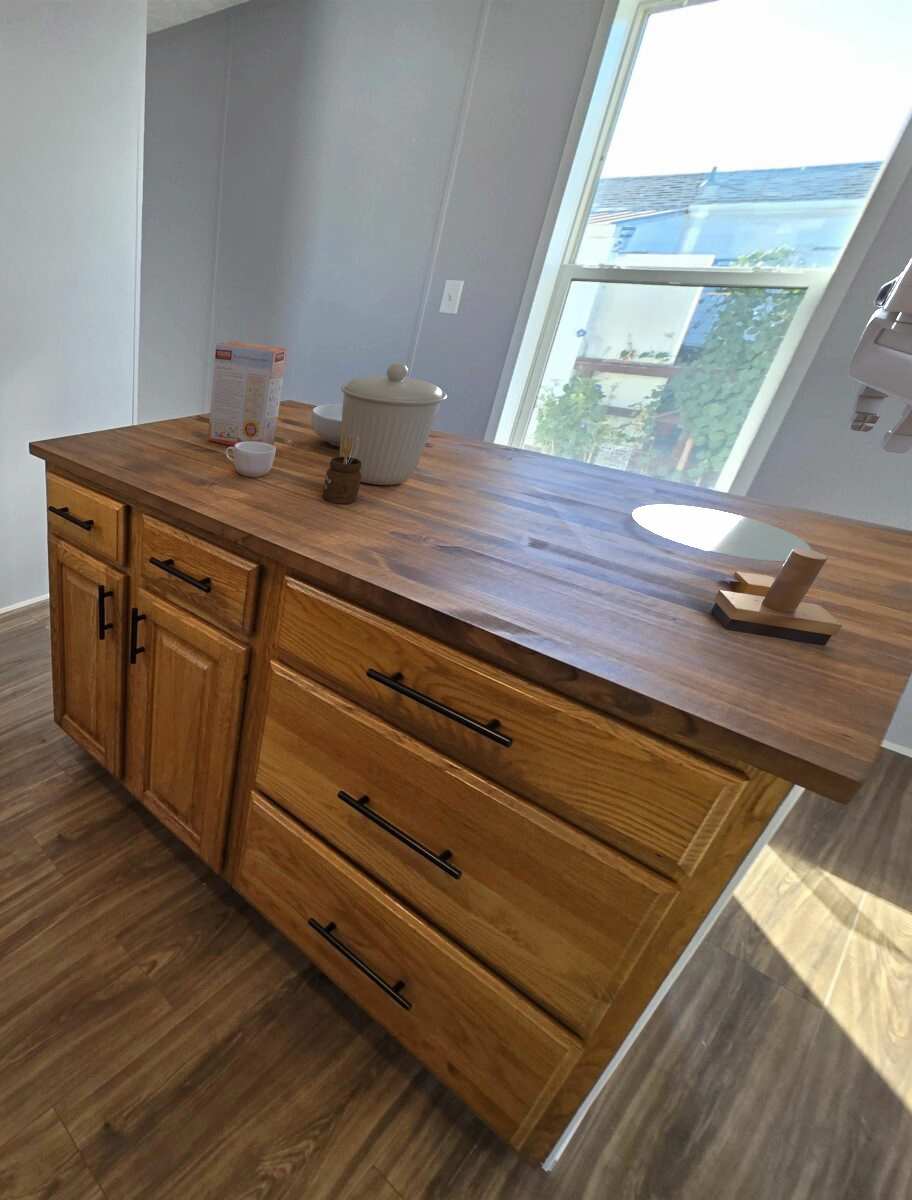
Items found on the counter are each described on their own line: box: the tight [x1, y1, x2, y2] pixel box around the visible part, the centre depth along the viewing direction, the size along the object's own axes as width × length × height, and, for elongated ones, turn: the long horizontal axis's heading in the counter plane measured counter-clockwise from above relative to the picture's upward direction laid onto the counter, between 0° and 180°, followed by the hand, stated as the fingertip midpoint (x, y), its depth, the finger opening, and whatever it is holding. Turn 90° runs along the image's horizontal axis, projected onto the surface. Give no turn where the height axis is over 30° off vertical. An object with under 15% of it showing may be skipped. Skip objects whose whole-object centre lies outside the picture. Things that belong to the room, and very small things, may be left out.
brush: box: [710, 548, 843, 646], centre depth 77 cm, size 10×5×10 cm, turn 69°
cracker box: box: [207, 341, 288, 447], centre depth 140 cm, size 14×6×21 cm, turn 46°
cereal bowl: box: [311, 403, 343, 448], centre depth 146 cm, size 17×17×7 cm
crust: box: [728, 570, 776, 597], centre depth 87 cm, size 4×4×2 cm
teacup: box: [224, 441, 277, 479], centre depth 127 cm, size 10×8×5 cm
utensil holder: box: [322, 435, 362, 505], centre depth 113 cm, size 6×6×12 cm
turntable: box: [631, 504, 812, 562], centre depth 103 cm, size 22×22×2 cm
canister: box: [339, 363, 448, 486], centre depth 122 cm, size 18×18×21 cm
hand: (873, 439), depth 68 cm, fingers open, 8 cm apart
